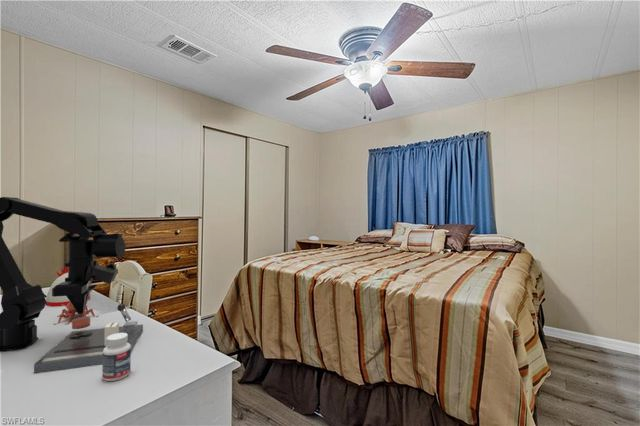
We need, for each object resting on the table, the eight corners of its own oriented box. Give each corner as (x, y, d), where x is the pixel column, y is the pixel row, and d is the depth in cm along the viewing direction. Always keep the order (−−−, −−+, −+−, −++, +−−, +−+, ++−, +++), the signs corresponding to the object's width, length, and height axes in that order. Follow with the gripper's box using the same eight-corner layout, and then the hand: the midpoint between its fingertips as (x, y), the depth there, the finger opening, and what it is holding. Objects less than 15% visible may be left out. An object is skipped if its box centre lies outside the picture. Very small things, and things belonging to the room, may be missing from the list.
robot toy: (100, 319, 105) (101, 282, 105) (53, 328, 97) (53, 288, 96) (94, 308, 116) (94, 275, 116) (51, 316, 107) (51, 280, 107)
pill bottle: (116, 383, 66) (116, 342, 66) (96, 380, 67) (96, 339, 67) (136, 370, 71) (136, 332, 71) (117, 368, 72) (117, 330, 72)
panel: (33, 373, 69) (34, 355, 69) (72, 338, 88) (72, 324, 88) (125, 360, 75) (125, 344, 75) (142, 330, 94) (142, 317, 94)
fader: (104, 346, 78) (104, 327, 78) (108, 341, 81) (108, 323, 81) (115, 345, 79) (115, 326, 79) (118, 340, 81) (118, 322, 81)
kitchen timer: (93, 301, 125) (93, 264, 125) (48, 309, 114) (49, 269, 114) (85, 294, 134) (86, 260, 134) (43, 301, 124) (43, 264, 124)
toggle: (124, 323, 88) (115, 307, 87) (126, 321, 90) (117, 305, 89) (131, 319, 89) (122, 303, 88) (133, 317, 91) (124, 301, 90)
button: (69, 329, 83) (69, 322, 83) (75, 324, 87) (75, 317, 87) (86, 328, 84) (87, 320, 84) (92, 323, 88) (92, 316, 88)
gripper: (103, 261, 79) (103, 321, 79) (123, 252, 97) (123, 301, 97) (51, 263, 76) (50, 326, 76) (81, 253, 93) (81, 304, 93)
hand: (80, 313), depth 86 cm, fingers closed
